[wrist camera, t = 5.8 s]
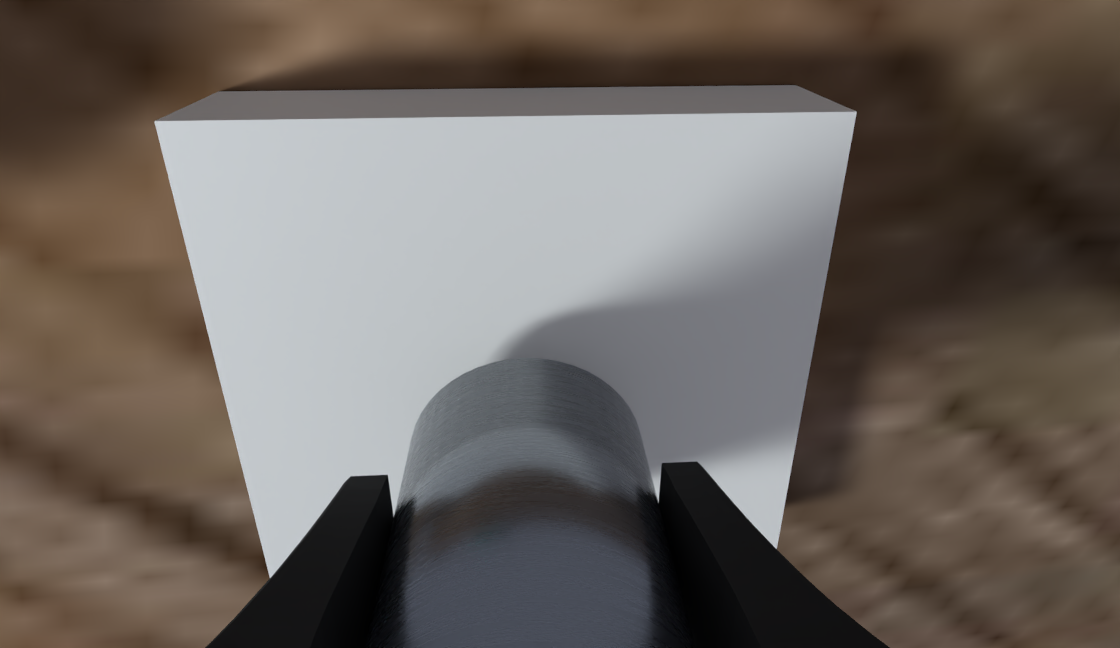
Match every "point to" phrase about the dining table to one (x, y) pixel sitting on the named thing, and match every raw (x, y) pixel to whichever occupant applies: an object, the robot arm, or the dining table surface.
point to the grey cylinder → (528, 521)
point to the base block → (507, 268)
